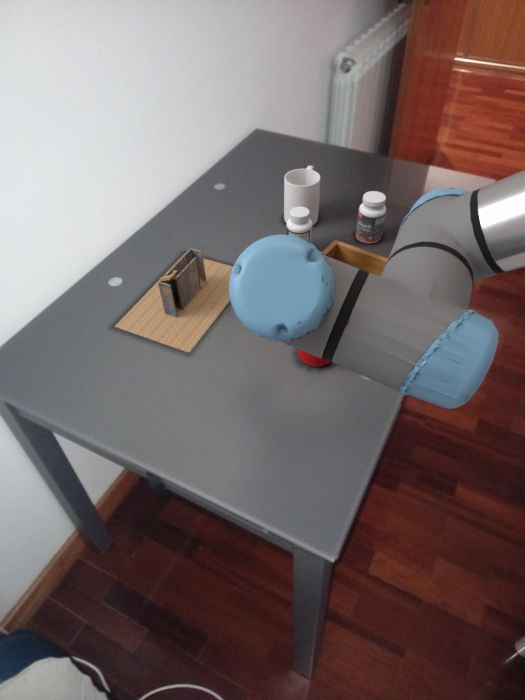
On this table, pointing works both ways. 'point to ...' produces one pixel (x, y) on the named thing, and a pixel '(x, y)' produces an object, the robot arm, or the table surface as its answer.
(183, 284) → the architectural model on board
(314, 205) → the mug
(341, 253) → the crate
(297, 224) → the pill bottle
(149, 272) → the table surface
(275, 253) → the robot arm
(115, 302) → the table surface
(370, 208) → the pill bottle
